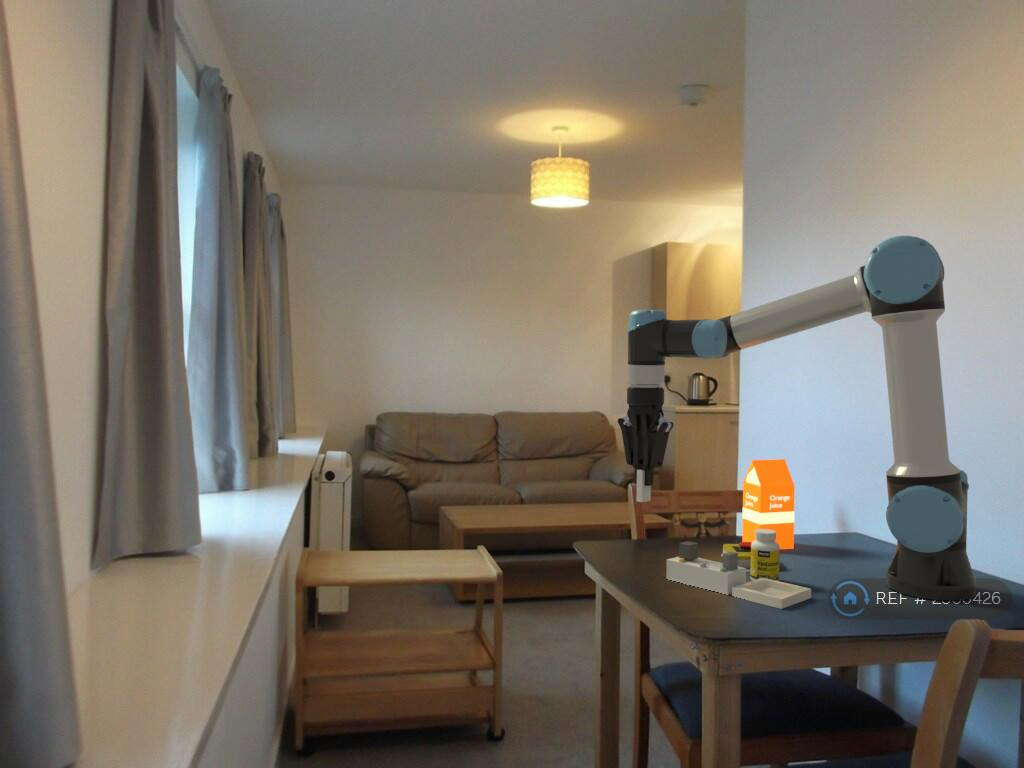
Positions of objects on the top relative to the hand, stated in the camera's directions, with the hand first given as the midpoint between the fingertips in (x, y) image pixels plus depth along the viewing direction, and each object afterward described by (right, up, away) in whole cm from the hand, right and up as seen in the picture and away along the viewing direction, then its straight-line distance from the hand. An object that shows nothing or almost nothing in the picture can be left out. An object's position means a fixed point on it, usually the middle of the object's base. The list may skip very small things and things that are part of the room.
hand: (643, 500), depth 173 cm
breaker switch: (+8, -10, -8) cm, 15 cm away
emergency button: (+23, -15, +6) cm, 28 cm away
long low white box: (+10, -15, -11) cm, 21 cm away
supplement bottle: (+22, -15, -8) cm, 28 cm away
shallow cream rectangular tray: (+20, -15, -19) cm, 32 cm away
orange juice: (+32, -14, +22) cm, 41 cm away
